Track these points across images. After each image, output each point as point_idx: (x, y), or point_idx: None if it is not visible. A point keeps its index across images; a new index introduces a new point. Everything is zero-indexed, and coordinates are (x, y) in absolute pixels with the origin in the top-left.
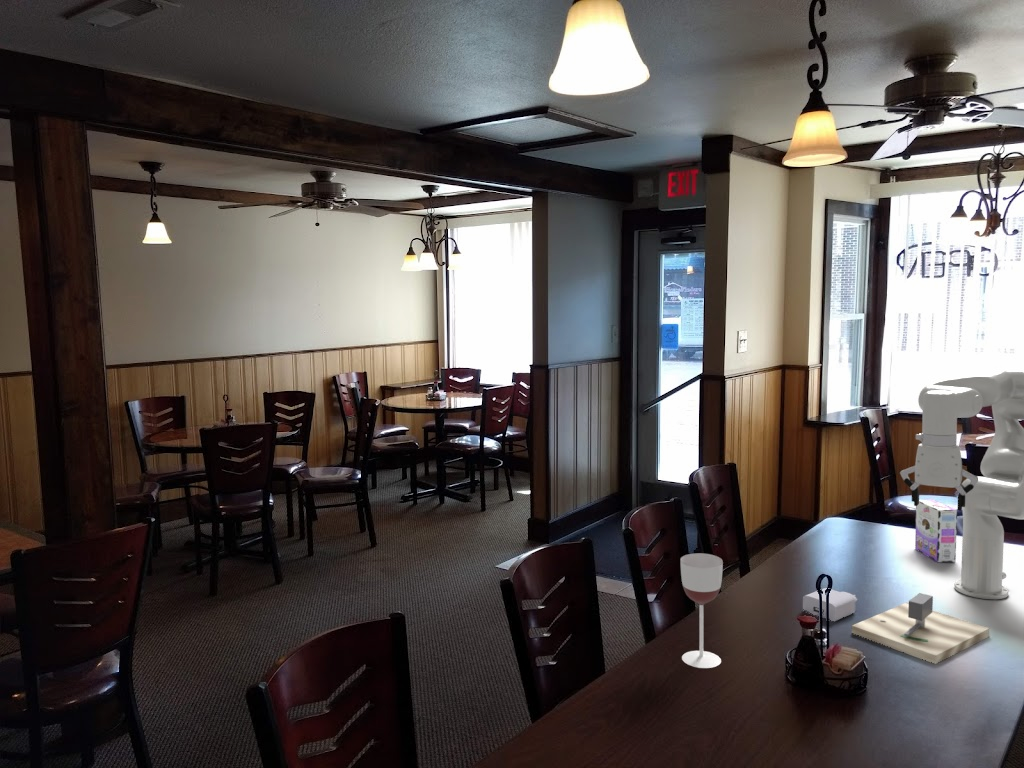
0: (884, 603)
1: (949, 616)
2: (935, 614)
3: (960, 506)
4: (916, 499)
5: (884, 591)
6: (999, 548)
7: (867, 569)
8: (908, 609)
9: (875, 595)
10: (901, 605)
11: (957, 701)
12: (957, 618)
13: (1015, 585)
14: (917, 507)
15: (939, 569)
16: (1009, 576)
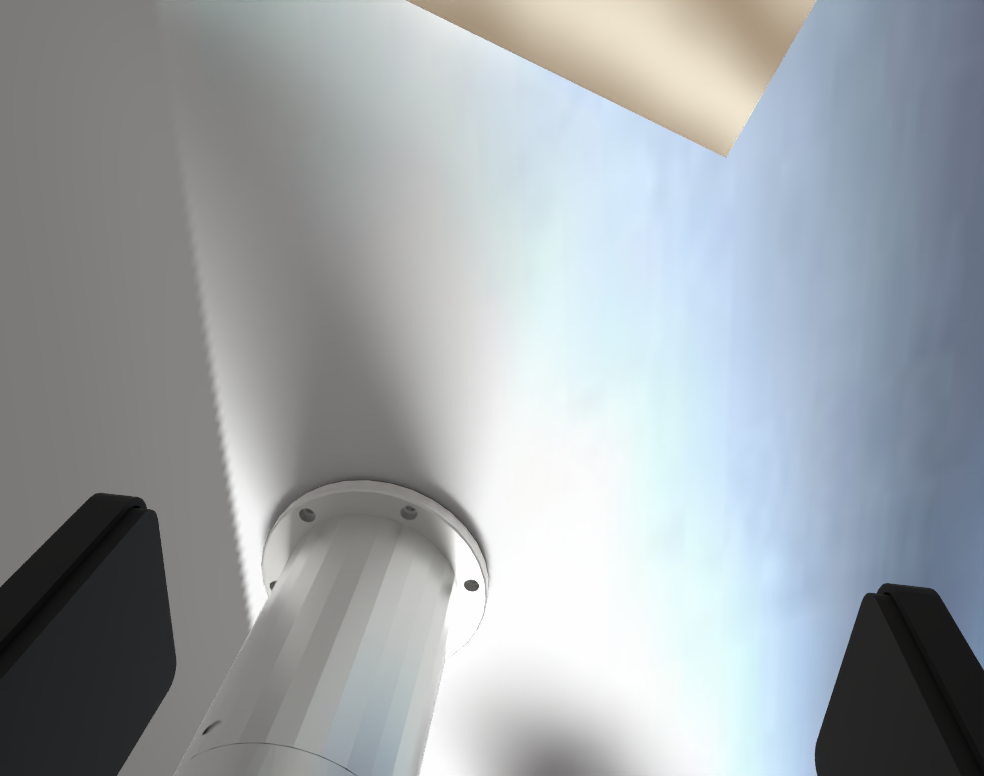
0: (844, 202)
1: (476, 21)
2: (556, 14)
3: (57, 532)
4: (935, 685)
5: (831, 399)
6: (202, 722)
7: None
8: (718, 25)
9: (889, 314)
10: (760, 82)
11: None
12: (431, 8)
13: None
14: None
15: (560, 767)
16: None
